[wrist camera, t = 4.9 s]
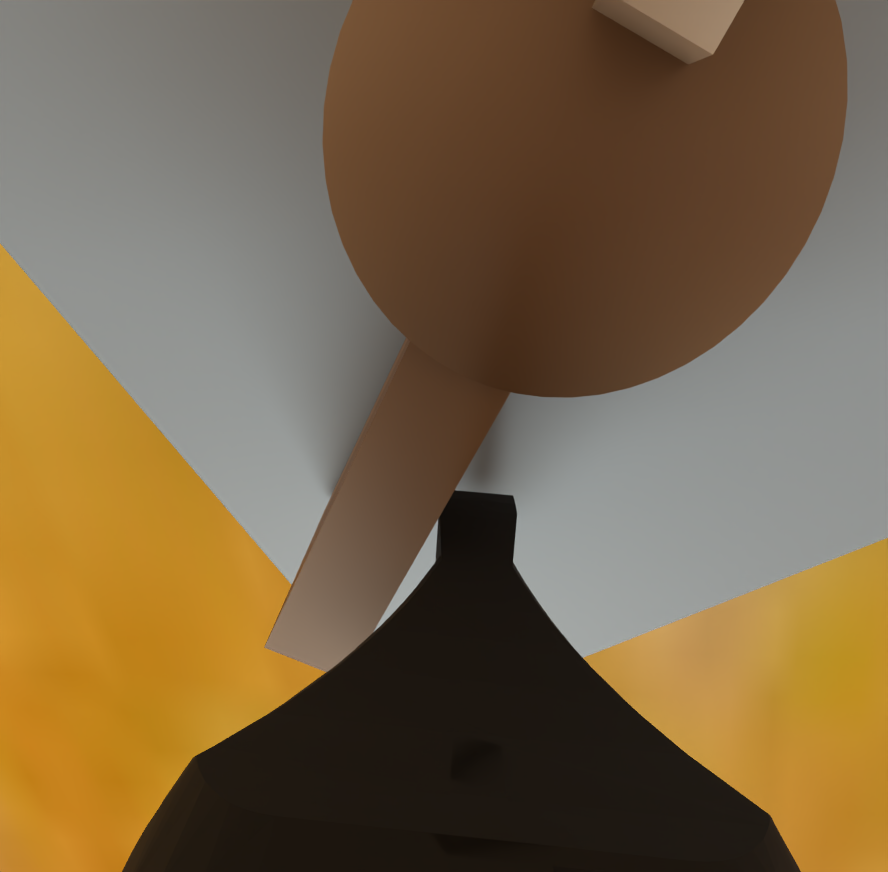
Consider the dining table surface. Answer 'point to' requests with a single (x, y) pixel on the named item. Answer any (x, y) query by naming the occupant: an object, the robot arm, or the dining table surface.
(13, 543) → the dining table surface
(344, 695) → the robot arm
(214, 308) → the grey board
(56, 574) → the dining table surface
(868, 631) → the dining table surface
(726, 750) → the dining table surface
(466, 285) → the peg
